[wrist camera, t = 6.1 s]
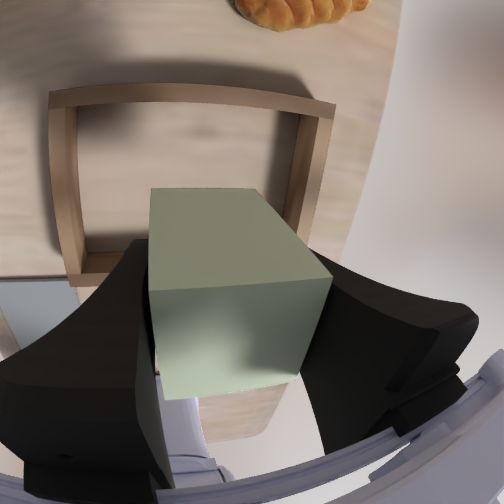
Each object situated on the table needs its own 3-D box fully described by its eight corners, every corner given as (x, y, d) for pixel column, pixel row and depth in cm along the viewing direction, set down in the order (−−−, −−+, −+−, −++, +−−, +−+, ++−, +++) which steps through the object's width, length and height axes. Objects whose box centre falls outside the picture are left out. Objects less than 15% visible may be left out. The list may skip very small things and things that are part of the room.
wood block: (243, 273, 13) (295, 380, 9) (154, 278, 12) (164, 400, 7) (255, 188, 11) (333, 277, 7) (151, 188, 10) (148, 290, 5)
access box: (286, 256, 23) (299, 274, 21) (77, 266, 18) (70, 287, 16) (316, 101, 17) (336, 104, 15) (63, 90, 12) (48, 91, 10)
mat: (99, 363, 24) (99, 366, 23) (29, 361, 21) (29, 364, 21) (73, 277, 19) (72, 280, 18) (-9, 279, 16) (-10, 282, 16)
